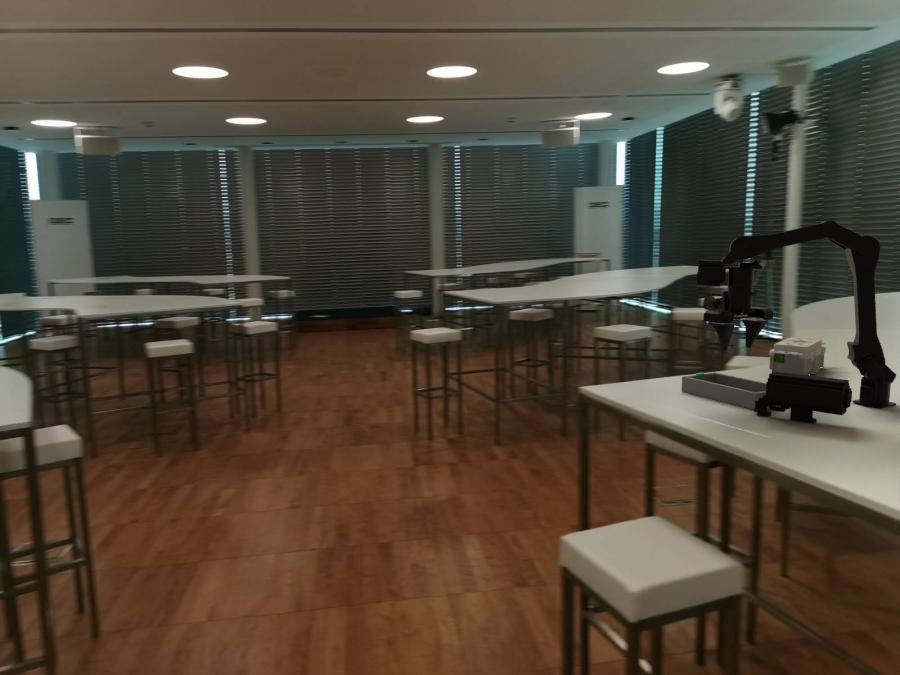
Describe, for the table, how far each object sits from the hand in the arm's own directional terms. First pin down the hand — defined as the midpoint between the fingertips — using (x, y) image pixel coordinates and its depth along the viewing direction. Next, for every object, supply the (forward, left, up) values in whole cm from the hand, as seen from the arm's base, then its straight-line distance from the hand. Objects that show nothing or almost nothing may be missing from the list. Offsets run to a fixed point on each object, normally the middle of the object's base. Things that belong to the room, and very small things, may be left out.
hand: (736, 349), depth 157 cm
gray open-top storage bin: (0, -1, -13) cm, 13 cm away
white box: (-41, -12, -13) cm, 44 cm away
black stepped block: (+5, +21, -13) cm, 25 cm away
